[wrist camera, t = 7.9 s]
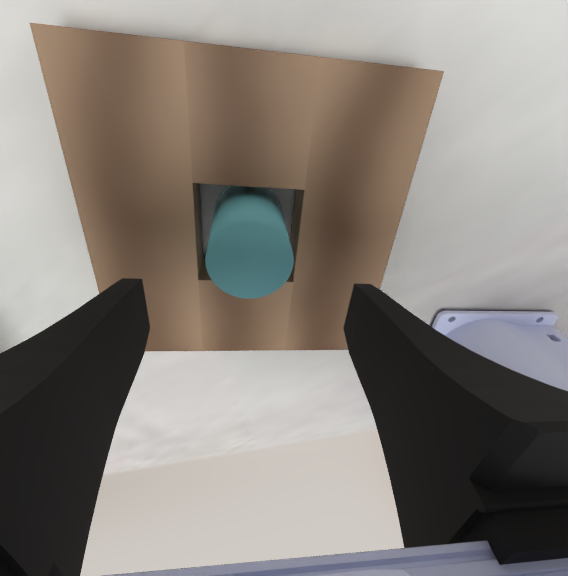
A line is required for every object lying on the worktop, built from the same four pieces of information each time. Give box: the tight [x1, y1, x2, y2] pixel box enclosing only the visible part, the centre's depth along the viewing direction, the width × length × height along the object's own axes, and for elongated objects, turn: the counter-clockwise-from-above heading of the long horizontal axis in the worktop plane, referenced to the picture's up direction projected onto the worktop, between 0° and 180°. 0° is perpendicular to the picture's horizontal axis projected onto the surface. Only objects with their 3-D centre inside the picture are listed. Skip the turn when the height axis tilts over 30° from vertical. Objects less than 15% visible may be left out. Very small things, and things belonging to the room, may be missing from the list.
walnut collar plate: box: [30, 23, 444, 351], centre depth 17 cm, size 15×15×2 cm
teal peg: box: [205, 185, 294, 299], centre depth 16 cm, size 4×4×6 cm
